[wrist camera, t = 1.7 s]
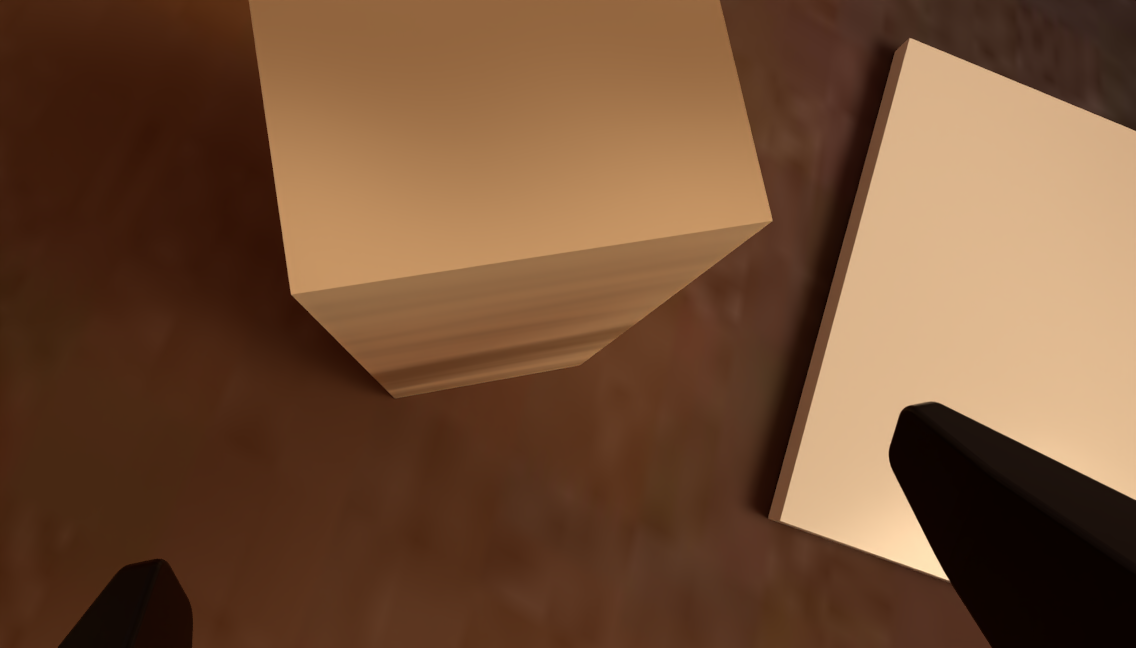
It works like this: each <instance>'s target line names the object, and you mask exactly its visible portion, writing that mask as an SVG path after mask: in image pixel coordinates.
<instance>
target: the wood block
mask: <svg viewBox="0 0 1136 648" xmlns="http://www.w3.org/2000/svg"><path fill="white" fill-rule="evenodd" d="M249 5H250V12H251V19H252V26H253V33H254V40H255V47H256V54H257V61H258V68H259V75H260V82H261V89H262V96H263V103H264V110H265V117H266V124H267V131H268V138H269V145H270V152H271V159H272V166H273V173H274V180H275V187H276V194H277V201H278V208H279V214H280V221H281V228H282V235H283V242H284V249H285V256H286V263H287V270H288V277H289V284H290V291H291V295H292V296H293V297H294V298H295V299H296V300H297V301H298V302H299V303H300V304H301V305H302V306H303V307H304V308H305V309H306V310H307V311H308V312H309V313H310V314H311V315H312V316H313V317H314V318H315V319H316V320H317V321H318V322H319V323H320V324H321V325H322V326H323V327H324V328H325V329H326V330H327V331H328V332H329V333H330V334H331V335H332V336H333V337H334V338H335V339H336V340H337V341H338V342H339V343H340V344H341V345H342V346H343V347H344V348H345V349H346V350H347V351H348V352H349V353H350V354H351V355H352V356H353V357H354V358H355V359H356V360H357V361H358V362H359V363H360V364H361V365H362V366H363V367H364V368H365V369H366V370H367V371H368V372H369V373H370V374H371V375H372V376H373V377H374V378H375V379H376V380H377V381H378V382H379V383H380V384H381V385H382V386H383V387H384V388H385V389H386V390H387V391H388V392H389V393H390V394H391V395H392V396H393V397H394V398H401V397H406V396H412V395H417V394H423V393H428V392H434V391H439V390H445V389H451V388H456V387H462V386H467V385H473V384H478V383H484V382H490V381H495V380H501V379H506V378H512V377H517V376H523V375H528V374H534V373H540V372H545V371H551V370H556V369H562V368H567V367H573V366H579V365H581V364H582V363H584V362H585V361H586V360H588V359H589V358H590V357H592V356H593V355H594V354H596V353H597V352H598V351H600V350H601V349H602V348H604V347H605V346H606V345H608V344H609V343H610V342H612V341H613V340H614V339H616V338H617V337H618V336H620V335H621V334H622V333H624V332H625V331H626V330H628V329H629V328H630V327H632V326H633V325H634V324H636V323H637V322H638V321H640V320H641V319H642V318H644V317H645V316H646V315H648V314H649V313H650V312H652V311H653V310H654V309H656V308H657V307H658V306H660V305H661V304H662V303H664V302H665V301H666V300H668V299H669V298H670V297H672V296H673V295H674V294H676V293H677V292H678V291H680V290H681V289H682V288H684V287H685V286H686V285H688V284H689V283H690V282H692V281H693V280H694V279H696V278H697V277H698V276H700V275H701V274H702V273H704V272H705V271H706V270H708V269H709V268H710V267H712V266H713V265H714V264H716V263H717V262H718V261H720V260H721V259H722V258H724V257H725V256H726V255H728V254H729V253H730V252H732V251H733V250H734V249H736V248H737V247H738V246H740V245H741V244H742V243H744V242H745V241H746V240H748V239H749V238H750V237H752V236H753V235H754V234H756V233H757V232H758V231H760V230H761V229H762V228H764V227H765V226H766V225H768V224H769V223H770V222H772V217H771V212H770V208H769V204H768V200H767V196H766V192H765V187H764V183H763V179H762V175H761V171H760V167H759V162H758V158H757V154H756V150H755V146H754V142H753V137H752V133H751V129H750V125H749V121H748V117H747V112H746V108H745V104H744V100H743V96H742V92H741V87H740V83H739V79H738V75H737V71H736V67H735V62H734V58H733V54H732V50H731V46H730V42H729V37H728V33H727V29H726V25H725V21H724V17H723V12H722V8H721V4H720V0H249Z"/></svg>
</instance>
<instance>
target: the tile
mask: <svg viewBox="0 0 1136 648" xmlns="http://www.w3.org/2000/svg"><path fill="white" fill-rule="evenodd" d="M930 401H932V402H938V403H941V404H943V405H945V406H947V407H949V408H951V409H953V410H955V411H957V412H959V413H961V414H963V415H965V416H967V417H969V418H971V419H973V420H975V421H977V422H979V423H981V424H983V425H985V426H987V427H989V428H991V429H993V430H995V431H997V432H999V433H1001V434H1003V435H1006V436H1008V437H1010V438H1012V439H1014V440H1016V441H1018V442H1020V443H1022V444H1024V445H1026V446H1028V447H1030V448H1032V449H1034V450H1036V451H1038V452H1040V453H1042V454H1044V455H1046V456H1048V457H1050V458H1052V459H1054V460H1056V461H1058V462H1060V463H1062V464H1064V465H1066V466H1068V467H1070V468H1072V469H1074V470H1076V471H1078V472H1080V473H1082V474H1084V475H1086V476H1088V477H1090V478H1092V479H1094V480H1096V481H1098V482H1100V483H1102V484H1104V485H1106V486H1108V487H1110V488H1113V489H1115V490H1117V491H1119V492H1121V493H1123V494H1125V495H1127V496H1129V497H1131V498H1133V499H1135V500H1136V131H1134V130H1132V129H1129V128H1127V127H1125V126H1122V125H1120V124H1117V123H1115V122H1112V121H1110V120H1108V119H1105V118H1103V117H1100V116H1098V115H1095V114H1093V113H1091V112H1088V111H1086V110H1083V109H1081V108H1078V107H1076V106H1074V105H1071V104H1069V103H1066V102H1064V101H1062V100H1059V99H1057V98H1054V97H1052V96H1049V95H1047V94H1045V93H1042V92H1040V91H1037V90H1035V89H1032V88H1030V87H1028V86H1025V85H1023V84H1020V83H1018V82H1015V81H1013V80H1011V79H1008V78H1006V77H1003V76H1001V75H998V74H996V73H994V72H991V71H989V70H986V69H984V68H982V67H979V66H977V65H974V64H972V63H969V62H967V61H965V60H962V59H960V58H957V57H955V56H952V55H950V54H948V53H945V52H943V51H940V50H938V49H935V48H933V47H931V46H928V45H926V44H923V43H921V42H918V41H916V40H914V39H911V38H909V39H908V40H907V41H906V42H905V43H904V44H903V45H902V46H900V47H899V48H898V49H897V50H896V51H895V53H894V57H893V61H892V64H891V68H890V72H889V75H888V79H887V83H886V86H885V90H884V94H883V97H882V101H881V105H880V108H879V112H878V116H877V119H876V123H875V127H874V130H873V134H872V138H871V141H870V145H869V149H868V153H867V156H866V160H865V164H864V167H863V171H862V175H861V178H860V182H859V186H858V189H857V193H856V197H855V200H854V204H853V208H852V211H851V215H850V219H849V222H848V226H847V230H846V233H845V237H844V241H843V244H842V248H841V252H840V255H839V259H838V263H837V266H836V270H835V274H834V277H833V281H832V285H831V288H830V292H829V296H828V299H827V303H826V307H825V310H824V314H823V318H822V322H821V325H820V329H819V333H818V336H817V340H816V344H815V347H814V351H813V355H812V358H811V362H810V366H809V369H808V373H807V377H806V380H805V384H804V388H803V391H802V395H801V399H800V402H799V406H798V410H797V413H796V417H795V421H794V424H793V428H792V432H791V435H790V439H789V443H788V446H787V450H786V454H785V457H784V461H783V465H782V468H781V472H780V476H779V479H778V483H777V487H776V491H775V494H774V498H773V502H772V505H771V509H770V513H769V516H768V519H771V520H773V521H776V522H779V523H782V524H785V525H788V526H790V527H793V528H796V529H799V530H802V531H805V532H807V533H810V534H813V535H816V536H819V537H822V538H824V539H827V540H830V541H833V542H836V543H839V544H841V545H844V546H847V547H850V548H853V549H856V550H858V551H861V552H864V553H867V554H870V555H873V556H875V557H878V558H881V559H884V560H887V561H890V562H892V563H895V564H898V565H901V566H904V567H907V568H909V569H912V570H915V571H918V572H921V573H924V574H926V575H929V576H932V577H935V578H938V579H941V580H943V581H946V582H949V583H951V582H950V581H949V579H948V577H947V576H946V574H945V572H944V571H943V569H942V567H941V565H940V563H939V562H938V560H937V558H936V556H935V554H934V552H933V550H932V548H931V546H930V544H929V542H928V540H927V538H926V536H925V534H924V532H923V530H922V528H921V526H920V524H919V522H918V520H917V518H916V516H915V514H914V512H913V511H912V509H911V507H910V505H909V503H908V501H907V499H906V497H905V495H904V493H903V491H902V489H901V487H900V485H899V483H898V481H897V479H896V477H895V475H894V473H893V471H892V468H891V466H890V462H889V447H890V444H891V440H892V437H893V434H894V431H895V427H896V424H897V421H898V418H899V415H900V412H901V411H902V410H903V409H904V408H905V407H906V406H909V405H914V404H919V403H924V402H930Z"/></svg>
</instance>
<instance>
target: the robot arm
mask: <svg viewBox="0 0 1136 648" xmlns="http://www.w3.org/2000/svg"><path fill="white" fill-rule="evenodd" d="M889 462H890V466H891V468H892V471H893V473H894V475H895V477H896V479H897V481H898V483H899V485H900V487H901V489H902V491H903V493H904V495H905V497H906V499H907V501H908V503H909V505H910V507H911V509H912V511H913V512H914V514H915V516H916V518H917V520H918V522H919V524H920V526H921V528H922V530H923V532H924V534H925V536H926V538H927V540H928V542H929V544H930V546H931V548H932V550H933V552H934V554H935V556H936V558H937V560H938V562H939V563H940V565H941V567H942V569H943V571H944V572H945V574H946V576H947V577H948V579H949V581H950V582H951V584H952V586H953V587H954V589H955V590H956V592H957V594H958V595H959V597H960V598H961V600H962V601H963V603H964V605H965V606H966V608H967V609H968V611H969V612H970V614H971V616H972V617H973V619H974V620H975V622H976V623H977V625H978V627H979V628H980V630H981V631H982V633H983V634H984V636H985V638H986V639H987V641H988V642H989V644H990V645H991V647H992V648H1136V500H1135V499H1133V498H1131V497H1129V496H1127V495H1125V494H1123V493H1121V492H1119V491H1117V490H1115V489H1113V488H1110V487H1108V486H1106V485H1104V484H1102V483H1100V482H1098V481H1096V480H1094V479H1092V478H1090V477H1088V476H1086V475H1084V474H1082V473H1080V472H1078V471H1076V470H1074V469H1072V468H1070V467H1068V466H1066V465H1064V464H1062V463H1060V462H1058V461H1056V460H1054V459H1052V458H1050V457H1048V456H1046V455H1044V454H1042V453H1040V452H1038V451H1036V450H1034V449H1032V448H1030V447H1028V446H1026V445H1024V444H1022V443H1020V442H1018V441H1016V440H1014V439H1012V438H1010V437H1008V436H1006V435H1003V434H1001V433H999V432H997V431H995V430H993V429H991V428H989V427H987V426H985V425H983V424H981V423H979V422H977V421H975V420H973V419H971V418H969V417H967V416H965V415H963V414H961V413H959V412H957V411H955V410H953V409H951V408H949V407H947V406H945V405H943V404H941V403H938V402H932V401H930V402H924V403H919V404H914V405H909V406H906V407H905V408H904V409H903V410H902V411H901V412H900V415H899V418H898V421H897V424H896V427H895V431H894V434H893V437H892V440H891V444H890V447H889ZM192 633H193V616H192V609H191V605H190V602H189V599H188V597H187V596H186V594H185V592H184V590H183V588H182V587H181V585H180V583H179V581H178V579H177V577H176V576H175V574H174V572H173V570H172V568H171V566H170V565H169V564H168V562H167V561H165V560H163V559H153V560H148V561H143V562H139V563H134V564H129V565H126V566H125V567H123V568H122V569H120V570H119V571H118V572H117V573H116V574H115V576H114V577H113V578H112V580H111V581H110V582H109V583H108V585H107V586H106V587H105V588H104V590H103V591H102V592H101V593H100V595H99V596H98V597H97V598H96V600H95V601H94V602H93V604H92V605H91V606H90V607H89V609H88V610H87V611H86V612H85V614H84V615H83V616H82V617H81V619H80V620H79V621H78V622H77V624H76V625H75V626H74V628H73V629H72V630H71V631H70V633H69V634H68V635H67V636H66V638H65V639H64V640H63V641H62V643H61V644H60V645H59V646H58V648H192Z"/></svg>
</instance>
